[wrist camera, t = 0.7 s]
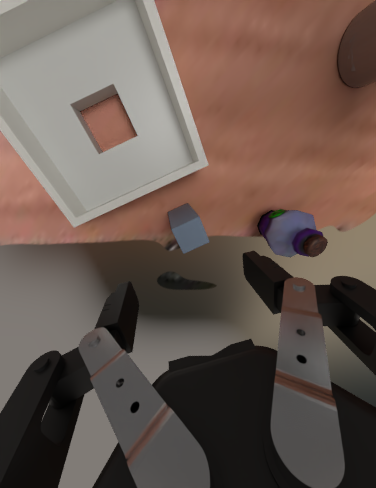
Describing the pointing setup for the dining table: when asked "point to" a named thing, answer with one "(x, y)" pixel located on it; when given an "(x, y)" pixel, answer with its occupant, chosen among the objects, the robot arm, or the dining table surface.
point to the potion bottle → (291, 233)
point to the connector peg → (187, 228)
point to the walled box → (93, 100)
